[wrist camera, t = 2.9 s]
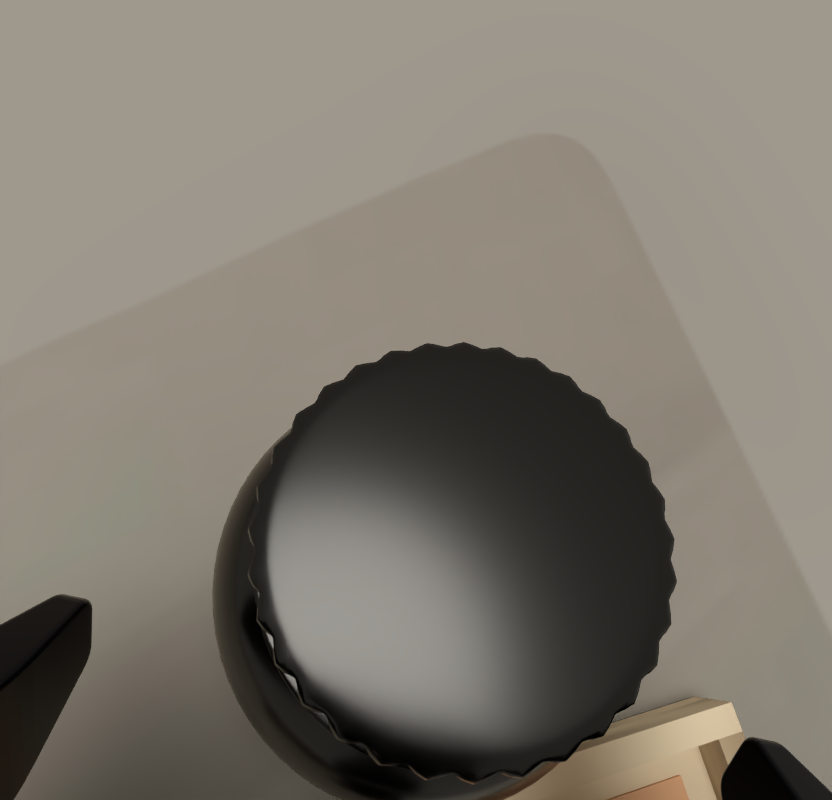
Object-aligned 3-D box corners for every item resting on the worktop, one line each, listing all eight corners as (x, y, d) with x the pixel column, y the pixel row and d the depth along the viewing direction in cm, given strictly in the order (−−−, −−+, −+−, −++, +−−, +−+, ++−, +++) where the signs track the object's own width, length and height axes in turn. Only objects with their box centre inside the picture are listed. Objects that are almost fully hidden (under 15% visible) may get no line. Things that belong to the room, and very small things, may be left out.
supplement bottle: (524, 523, 19) (789, 355, 8) (477, 771, 17) (773, 1028, 5) (309, 461, 19) (276, 205, 8) (227, 702, 16) (8, 823, 5)
